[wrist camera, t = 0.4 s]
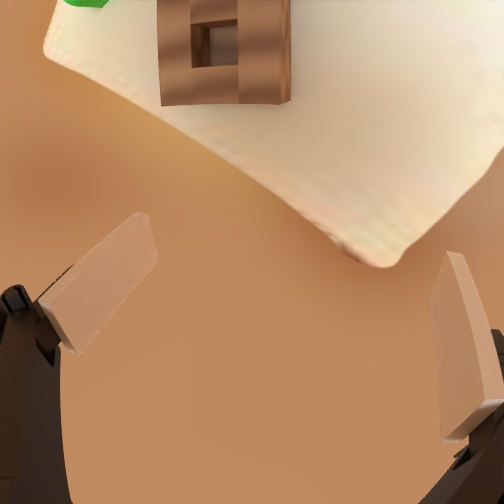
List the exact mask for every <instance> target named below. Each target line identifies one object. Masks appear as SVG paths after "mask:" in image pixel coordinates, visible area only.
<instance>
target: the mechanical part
mask: <svg viewBox="0 0 504 504" xmlns="http://www.w3.org/2000/svg"><path fill="white" fill-rule="evenodd" d="M64 1H65V2H67V3H68V4H70V5H73V6H78V7H103V6H104V5H105V4H106V3H107V2H108V1H109V0H64Z"/></svg>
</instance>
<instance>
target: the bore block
mask: <svg viewBox="0 0 504 504" xmlns="http://www.w3.org/2000/svg"><path fill="white" fill-rule="evenodd" d="M157 34H158V61H159V80H160V95H161V106H175V105H192V104H276V105H280V104H282V103H284V102H287V101H289V100H290V64H291V35H290V0H157Z"/></svg>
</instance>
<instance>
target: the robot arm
mask: <svg viewBox="0 0 504 504" xmlns="http://www.w3.org/2000/svg"><path fill="white" fill-rule="evenodd" d="M158 261H159V260H158V256H157V252H156V248H155V244H154V240H153V236H152V232H151V227H150V222H149V218H148V214H147V213H137V212H135V213H134V214H132V215H131V216H130V217H129V218H127V219H126V220H125V221H124V222H123V223H121V224H120V225H119V226H118V227H117V228H115V229H114V230H113V231H112V232H111V233H110V234H108V235H107V236H106V237H105V238H104V239H103V240H101V241H100V242H99V243H98V244H97V245H96V246H95V247H93V248H92V249H91V250H90V251H89V252H88V253H87V254H86V255H84V256H83V257H82V258H81V259H80V260H79V261H78V262H77V263H76V264H74V265H72V266H71V267H69V268H68V269H67V270H66V271H65V272H64V273H63V274H62V276H60V277H59V278H58V279H56V282H53V283H52V284H51V286H49V287H48V288H47V289H46V290H45V291H44V292H43V293H42V294H41V295H40V296H39V297H38V298H37V299H36V300H35V301H34V302H33V303H32V302H31V299H30V298H29V296H28V294H27V292H26V290H25V288H24V287H23V286H22V285H14V286H11V287H9V288H8V289H7V290H5V291H4V292H3V293H2V294H1V296H0V504H73V503H72V501H71V498H70V494H69V488H68V483H67V476H66V469H65V461H64V452H63V442H62V429H61V410H60V359H61V351H60V347H59V346H58V344H59V343H60V342H61V341H62V342H63V344H64V345H65V347H66V348H67V350H68V351H70V352H72V353H74V354H76V355H78V356H81V354H82V353H83V352H84V350H85V349H86V348H87V346H88V345H89V344H90V343H91V342H92V340H93V339H94V338H95V336H96V335H97V334H98V333H99V331H100V330H101V329H102V328H103V326H104V325H105V324H106V323H107V321H108V320H109V319H110V318H111V317H112V315H113V314H114V313H115V312H116V310H117V309H118V308H119V306H121V305H122V303H123V302H124V301H125V300H126V299H127V297H128V296H129V295H130V294H131V292H132V291H133V290H134V289H135V288H136V287H137V286H138V285H139V283H140V282H141V281H142V280H143V279H144V278H145V276H146V275H147V274H148V273H149V272H150V271H151V269H152V268H153V267H154V266H155V265H156V264H157V263H158ZM428 308H429V314H430V320H431V326H432V333H433V339H434V347H435V356H436V366H437V376H438V390H439V408H440V443H453V442H454V443H455V442H460V441H462V440H463V439H464V438H465V437H466V436H468V435H469V444H468V445H467V446H466V447H464V448H463V449H462V450H460V451H459V452H458V453H457V454H456V455H454V458H456V457H458V458H457V459H456V460H455V462H454V463H453V464H452V465H451V467H450V468H449V469H448V470H447V472H446V473H445V474H444V475H443V476H442V478H441V479H440V480H439V481H438V482H437V484H436V485H435V486H434V487H433V488H432V489H431V491H430V492H429V493H428V494H427V495H426V496H425V497H424V498H423V499H422V500H421V501H420V502H419V503H418V504H504V336H503V335H502V333H501V332H500V331H499V330H496V329H490V327H489V323H488V320H487V317H486V314H485V311H484V308H483V305H482V302H481V299H480V296H479V294H478V291H477V288H476V286H475V283H474V280H473V278H472V275H471V273H470V270H469V268H468V266H467V263H466V260H465V258H464V256H463V254H461V253H454V252H448V251H447V252H446V255H445V258H444V261H443V264H442V267H441V270H440V272H439V275H438V278H437V281H436V283H435V286H434V288H433V291H432V294H431V296H430V299H429V301H428Z"/></svg>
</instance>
